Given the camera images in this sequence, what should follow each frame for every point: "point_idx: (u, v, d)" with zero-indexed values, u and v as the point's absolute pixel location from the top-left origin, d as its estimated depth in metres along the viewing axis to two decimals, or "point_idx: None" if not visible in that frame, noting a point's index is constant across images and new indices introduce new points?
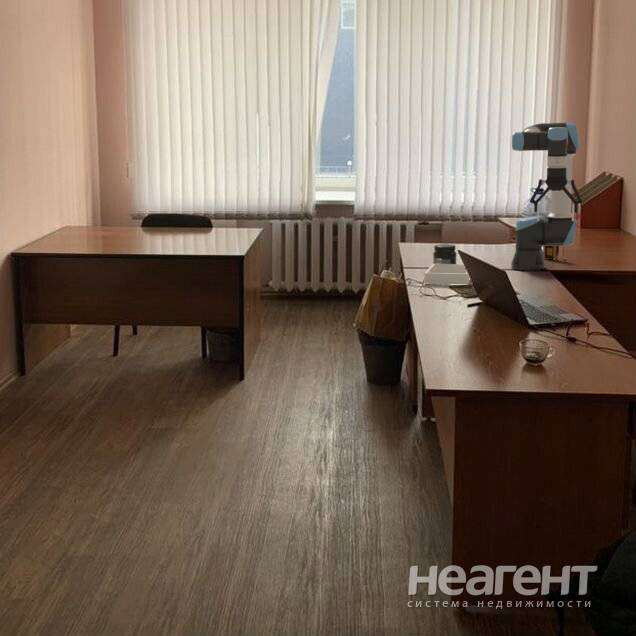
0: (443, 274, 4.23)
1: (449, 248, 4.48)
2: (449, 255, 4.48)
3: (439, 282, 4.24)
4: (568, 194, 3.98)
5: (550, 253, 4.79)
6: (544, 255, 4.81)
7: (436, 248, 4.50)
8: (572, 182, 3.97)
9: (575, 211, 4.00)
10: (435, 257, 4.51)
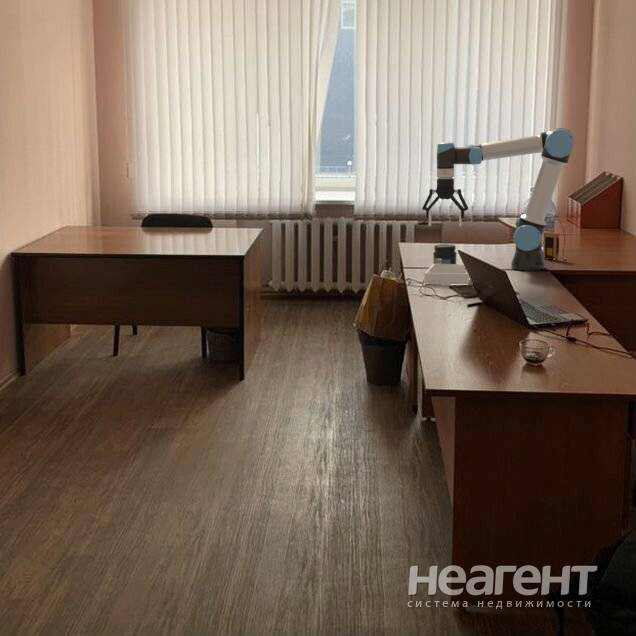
0: (443, 274, 4.23)
1: (449, 248, 4.48)
2: (449, 255, 4.48)
3: (439, 282, 4.24)
4: (455, 202, 4.46)
5: (550, 253, 4.79)
6: (544, 255, 4.81)
7: (436, 248, 4.50)
8: (458, 191, 4.44)
9: (462, 217, 4.47)
10: (435, 257, 4.51)
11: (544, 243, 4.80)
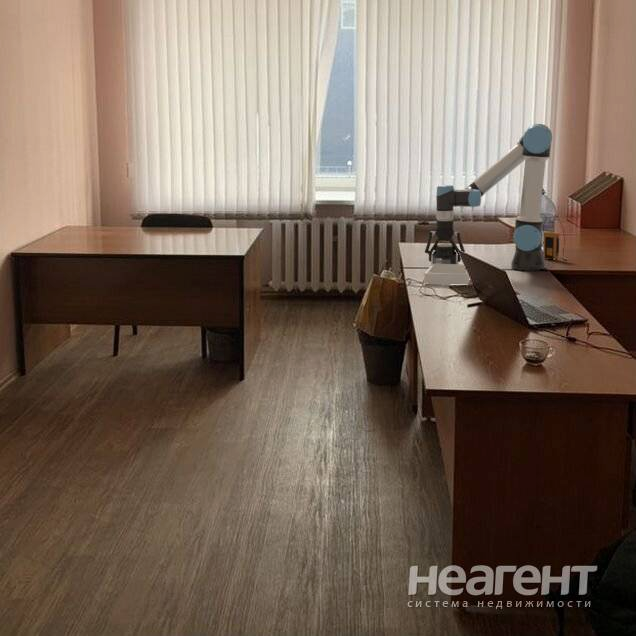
0: (443, 274, 4.23)
1: (449, 248, 4.48)
2: (449, 255, 4.48)
3: (439, 282, 4.24)
4: (453, 245, 4.50)
5: (550, 253, 4.79)
6: (544, 255, 4.81)
7: (436, 248, 4.50)
8: (458, 234, 4.49)
9: (458, 261, 4.52)
10: (435, 257, 4.51)
11: (544, 243, 4.80)
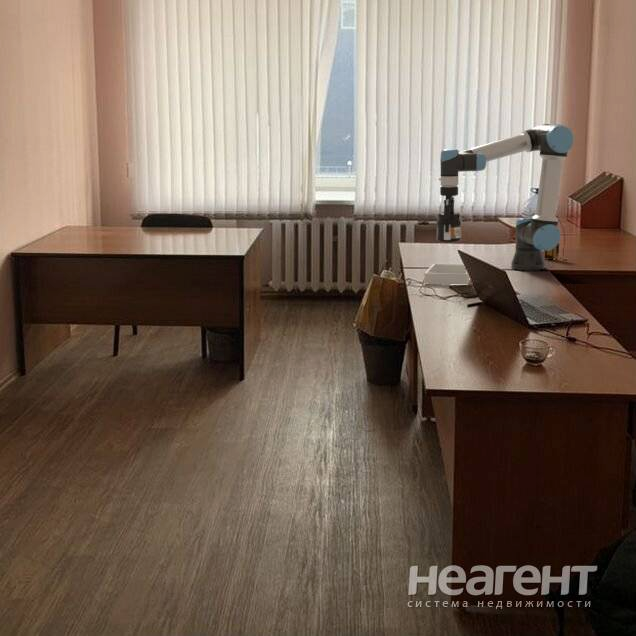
0: (443, 274, 4.23)
1: (438, 215, 4.29)
2: (437, 222, 4.30)
3: (439, 282, 4.24)
4: None
5: (550, 253, 4.79)
6: (544, 255, 4.81)
7: None
8: None
9: (445, 231, 4.26)
10: None
11: None
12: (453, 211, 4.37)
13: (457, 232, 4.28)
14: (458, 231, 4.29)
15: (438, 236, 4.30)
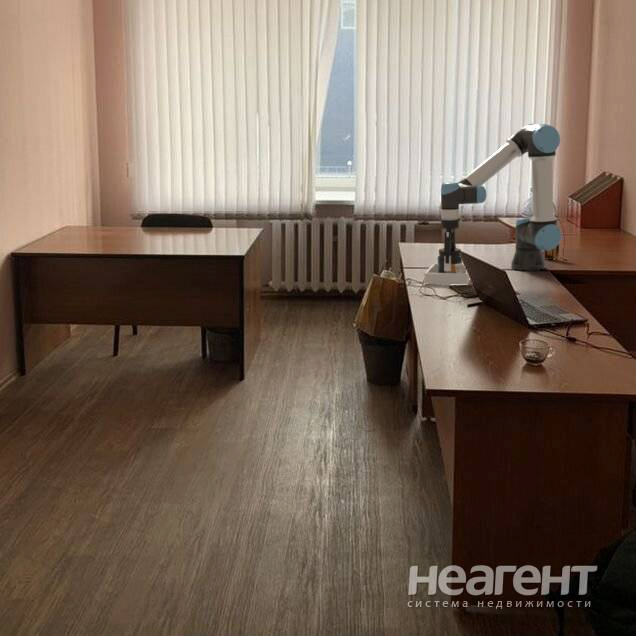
0: (443, 274, 4.23)
1: (439, 251, 4.31)
2: (438, 258, 4.32)
3: (439, 282, 4.24)
4: None
5: (550, 253, 4.79)
6: (544, 255, 4.81)
7: None
8: (445, 234, 4.25)
9: None
10: None
11: None
12: (454, 241, 4.38)
13: (458, 268, 4.30)
14: (459, 267, 4.30)
15: (439, 272, 4.32)
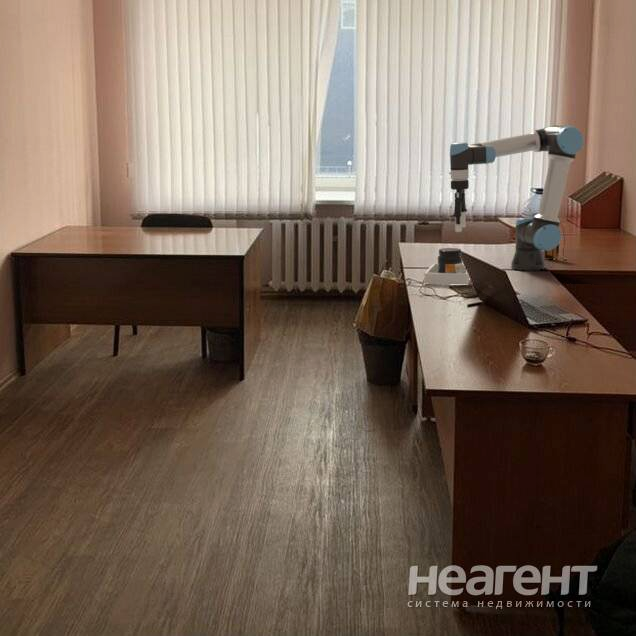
0: (443, 274, 4.23)
1: (439, 251, 4.31)
2: (438, 258, 4.32)
3: (439, 282, 4.24)
4: None
5: (550, 253, 4.79)
6: (544, 255, 4.81)
7: None
8: (455, 195, 4.23)
9: None
10: None
11: None
12: (464, 203, 4.37)
13: (458, 268, 4.30)
14: (459, 267, 4.30)
15: (439, 272, 4.32)
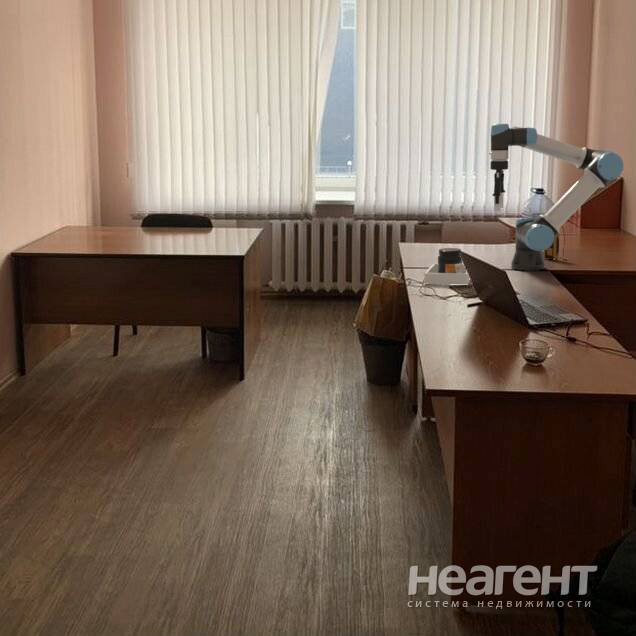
0: (443, 274, 4.23)
1: (439, 251, 4.31)
2: (438, 258, 4.32)
3: (439, 282, 4.24)
4: None
5: (550, 253, 4.79)
6: (544, 255, 4.81)
7: None
8: (495, 175, 4.30)
9: None
10: None
11: None
12: (503, 184, 4.43)
13: (458, 268, 4.30)
14: (459, 267, 4.30)
15: (439, 272, 4.32)
